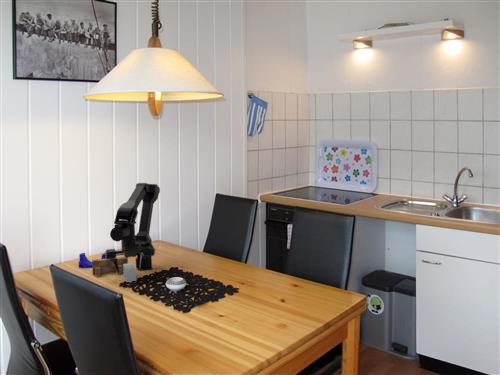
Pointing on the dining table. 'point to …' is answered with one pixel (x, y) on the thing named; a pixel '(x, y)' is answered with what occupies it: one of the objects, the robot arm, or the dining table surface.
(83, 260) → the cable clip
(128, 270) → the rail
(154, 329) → the dining table surface
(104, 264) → the brown wooden bridge block
